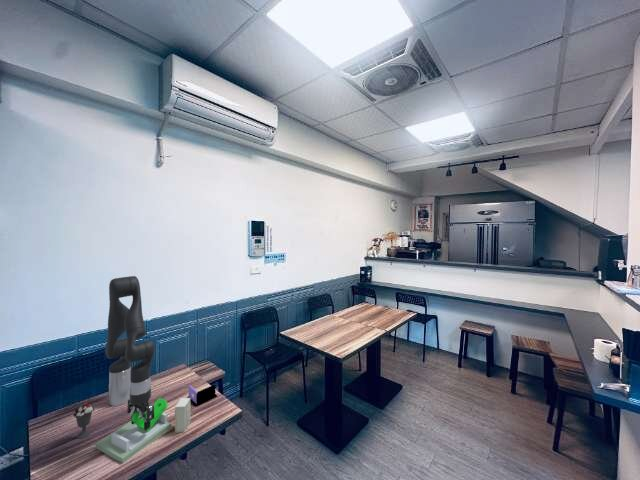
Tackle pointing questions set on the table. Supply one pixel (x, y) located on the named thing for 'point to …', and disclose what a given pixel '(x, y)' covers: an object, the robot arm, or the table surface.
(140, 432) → the pale green fixture
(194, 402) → the miniature room corner
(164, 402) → the mechanical part
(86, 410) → the sundae
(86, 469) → the table surface
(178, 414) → the skincare box
